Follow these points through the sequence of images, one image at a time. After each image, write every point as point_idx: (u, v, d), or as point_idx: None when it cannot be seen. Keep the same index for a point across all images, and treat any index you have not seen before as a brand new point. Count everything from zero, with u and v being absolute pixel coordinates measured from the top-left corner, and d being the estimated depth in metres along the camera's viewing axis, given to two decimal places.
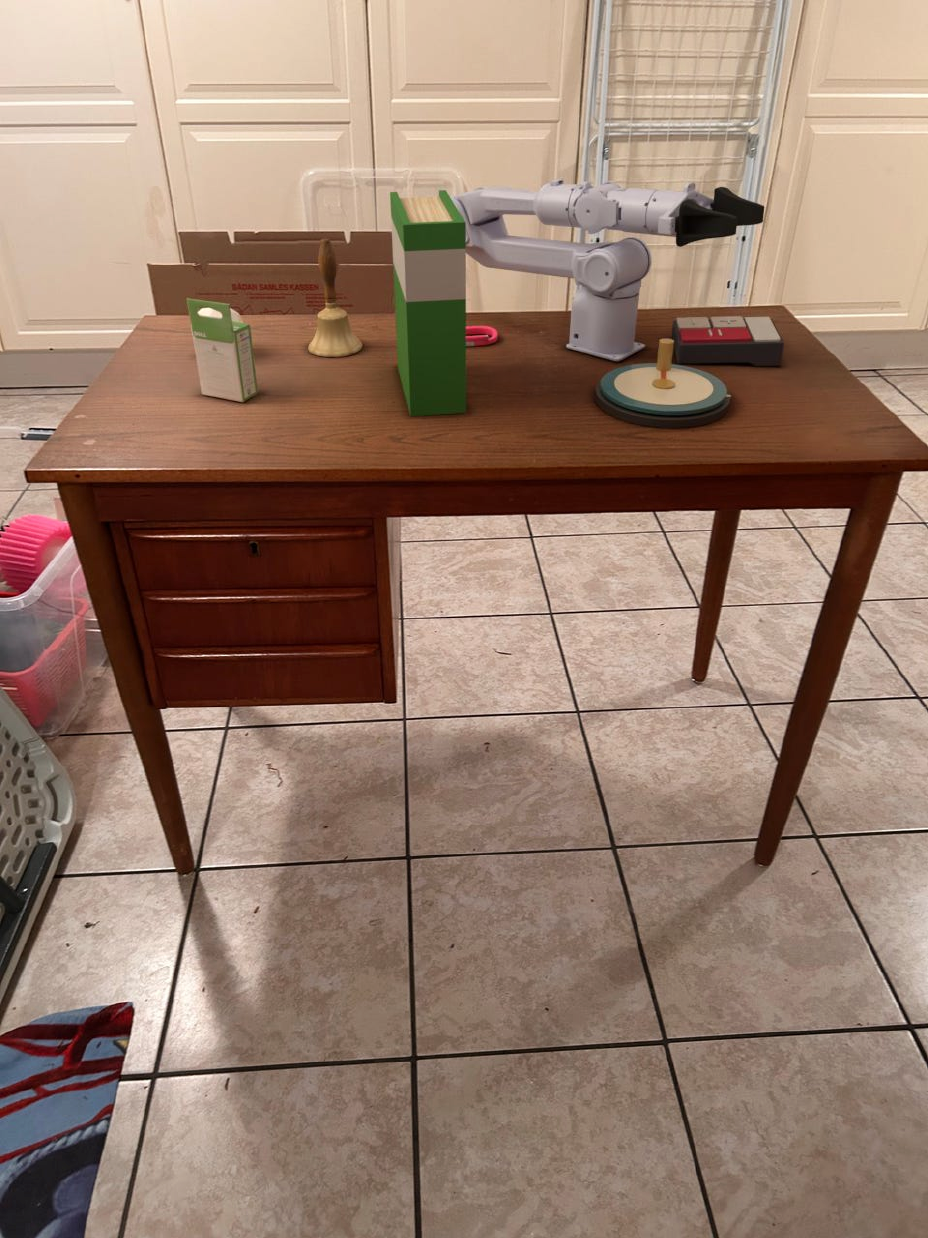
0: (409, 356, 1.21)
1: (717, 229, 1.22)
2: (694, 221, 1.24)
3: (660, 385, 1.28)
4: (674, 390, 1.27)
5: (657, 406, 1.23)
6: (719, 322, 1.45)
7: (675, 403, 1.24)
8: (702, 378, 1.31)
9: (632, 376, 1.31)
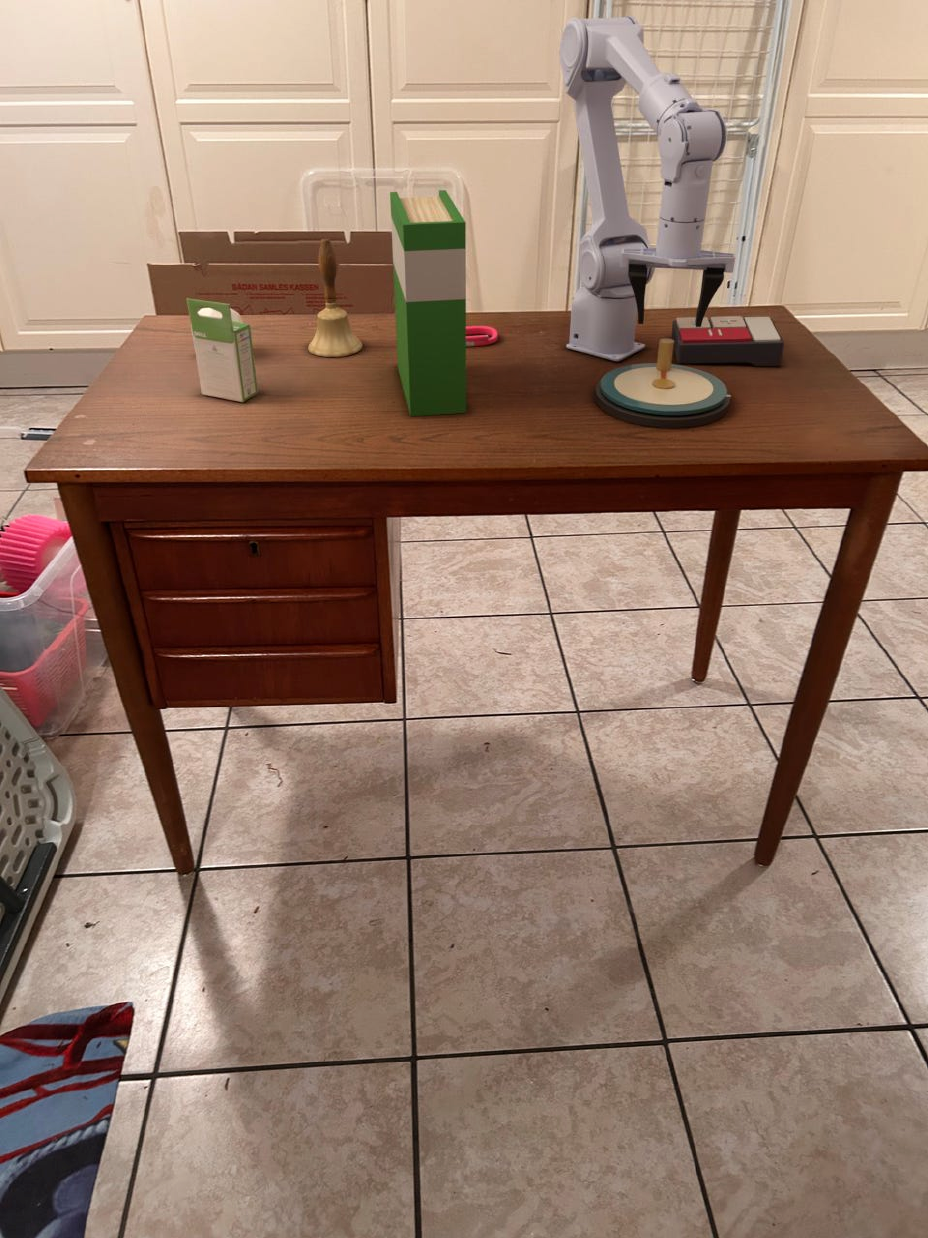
0: (409, 356, 1.21)
1: None
2: None
3: (660, 385, 1.28)
4: (674, 390, 1.27)
5: (657, 406, 1.23)
6: (719, 322, 1.45)
7: (675, 403, 1.24)
8: (702, 378, 1.31)
9: (632, 376, 1.31)
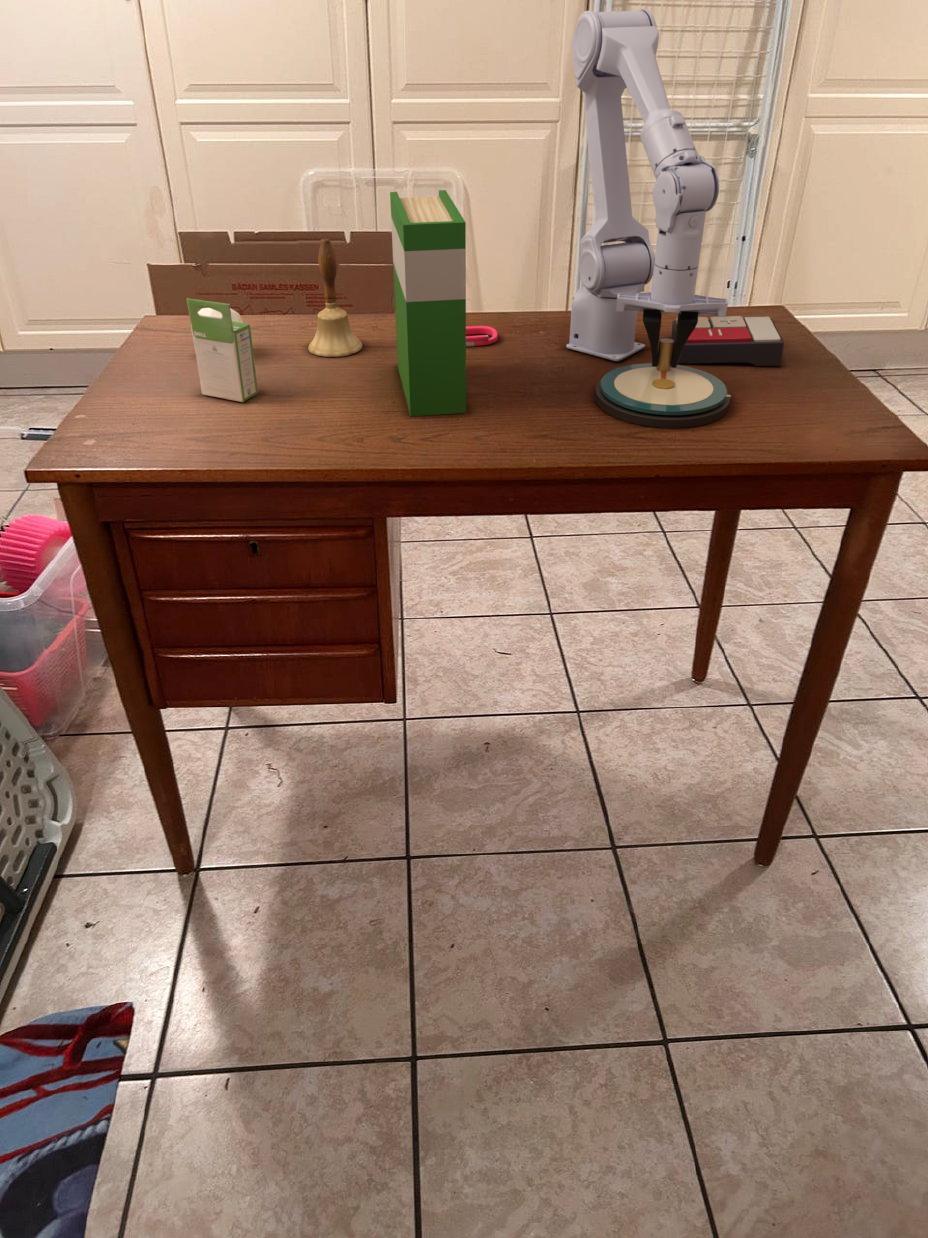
0: (409, 356, 1.21)
1: None
2: None
3: (660, 385, 1.28)
4: (674, 390, 1.27)
5: (657, 406, 1.23)
6: (719, 322, 1.45)
7: (675, 403, 1.24)
8: (702, 378, 1.31)
9: (632, 376, 1.31)
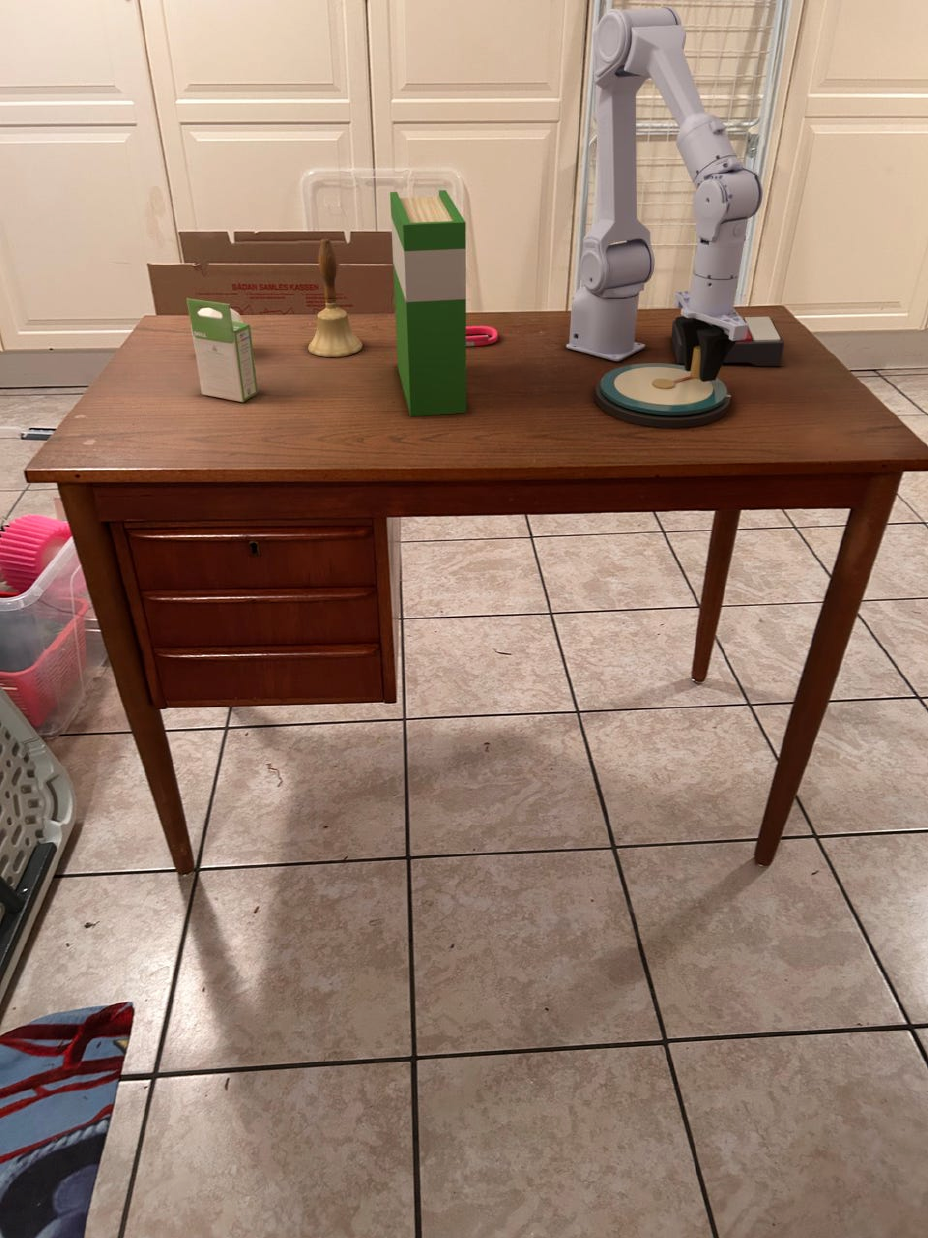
0: (409, 356, 1.21)
1: None
2: None
3: (656, 383, 1.29)
4: (660, 391, 1.27)
5: (617, 394, 1.27)
6: None
7: (635, 397, 1.25)
8: (708, 393, 1.27)
9: (657, 371, 1.33)
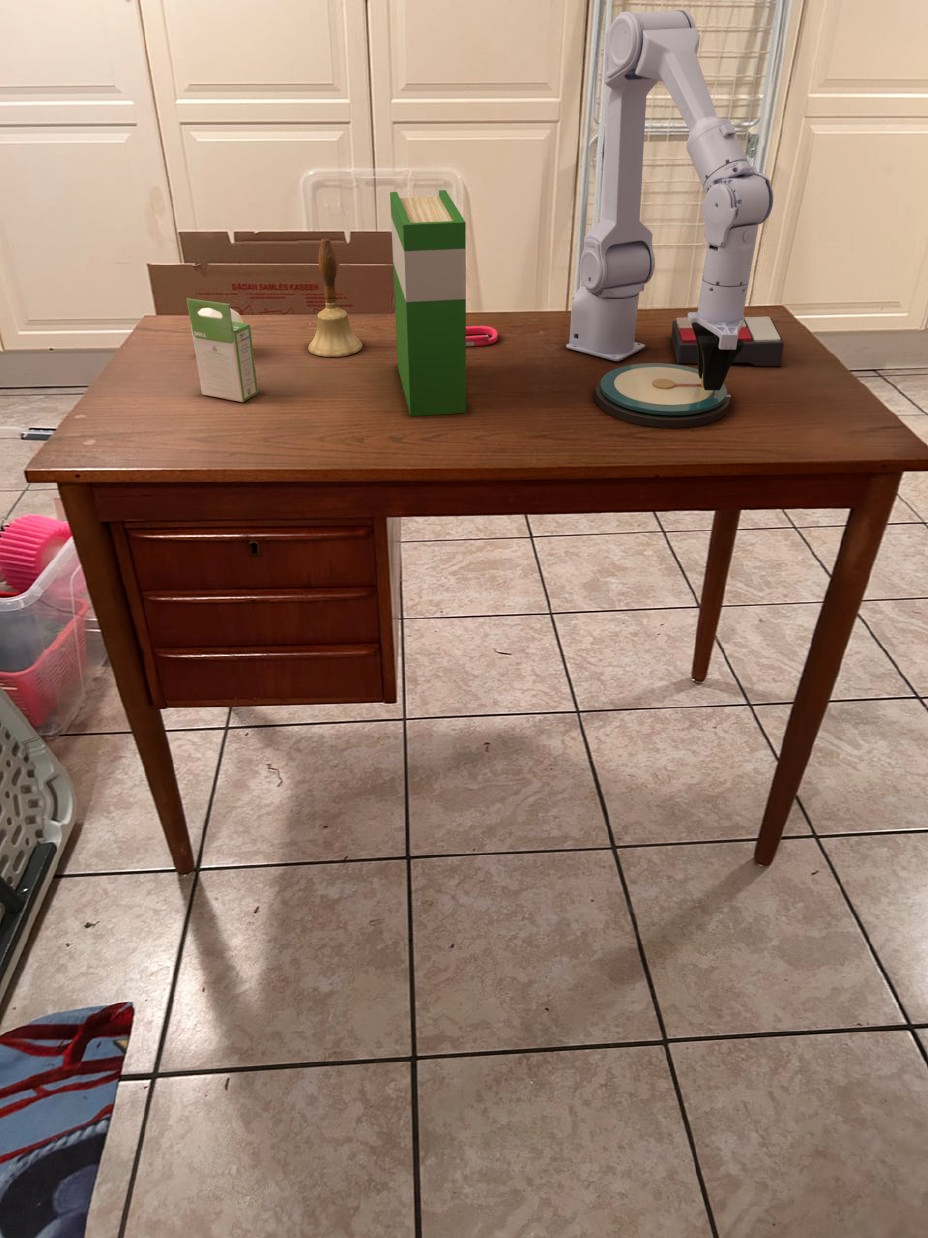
0: (409, 356, 1.21)
1: None
2: None
3: (656, 381, 1.29)
4: (652, 388, 1.28)
5: (609, 382, 1.30)
6: None
7: (619, 388, 1.28)
8: (693, 400, 1.25)
9: (677, 373, 1.32)
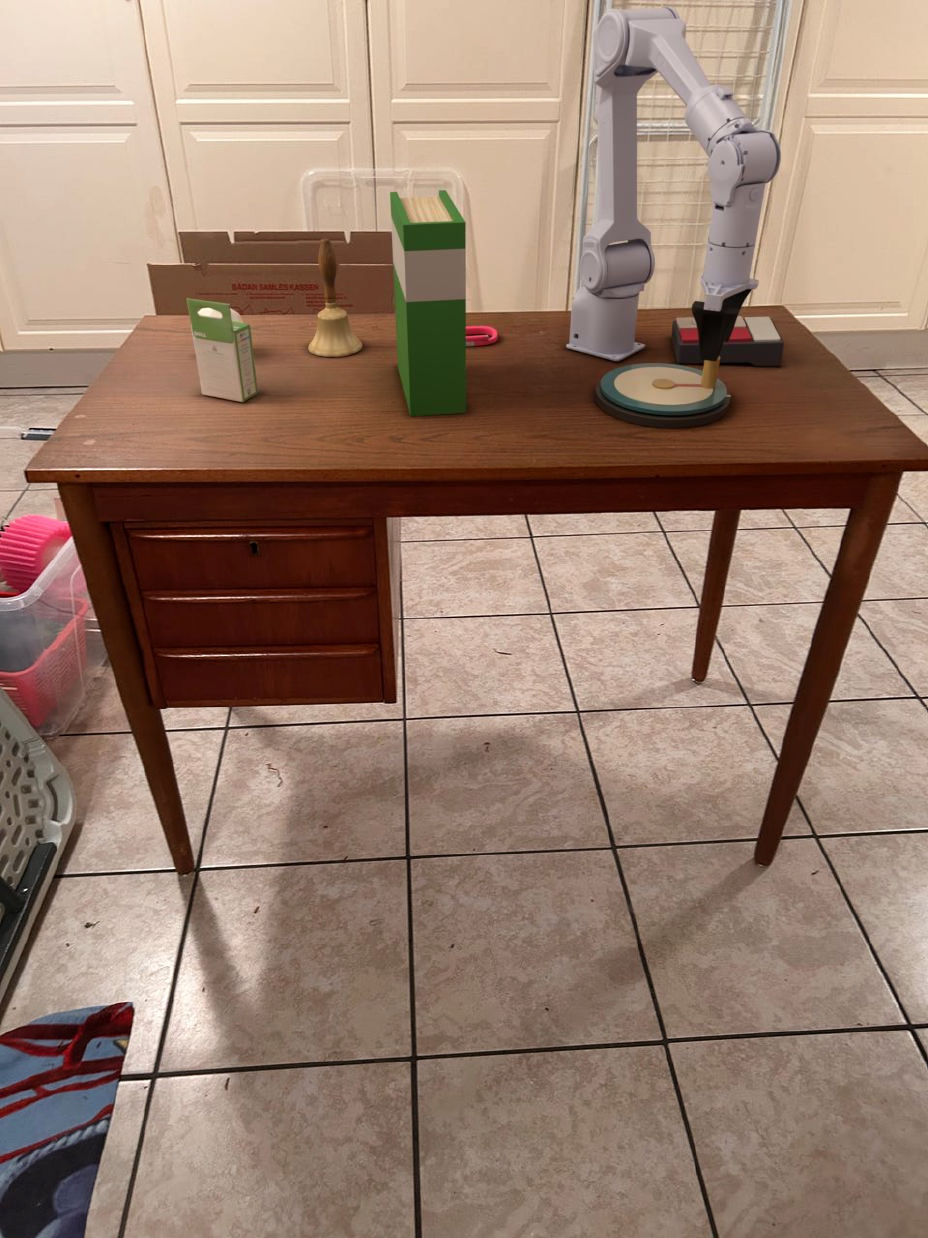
0: (409, 356, 1.21)
1: (706, 343, 1.21)
2: (716, 317, 1.19)
3: (656, 381, 1.29)
4: (652, 388, 1.28)
5: (609, 382, 1.30)
6: None
7: (619, 388, 1.28)
8: (693, 400, 1.25)
9: (677, 373, 1.32)
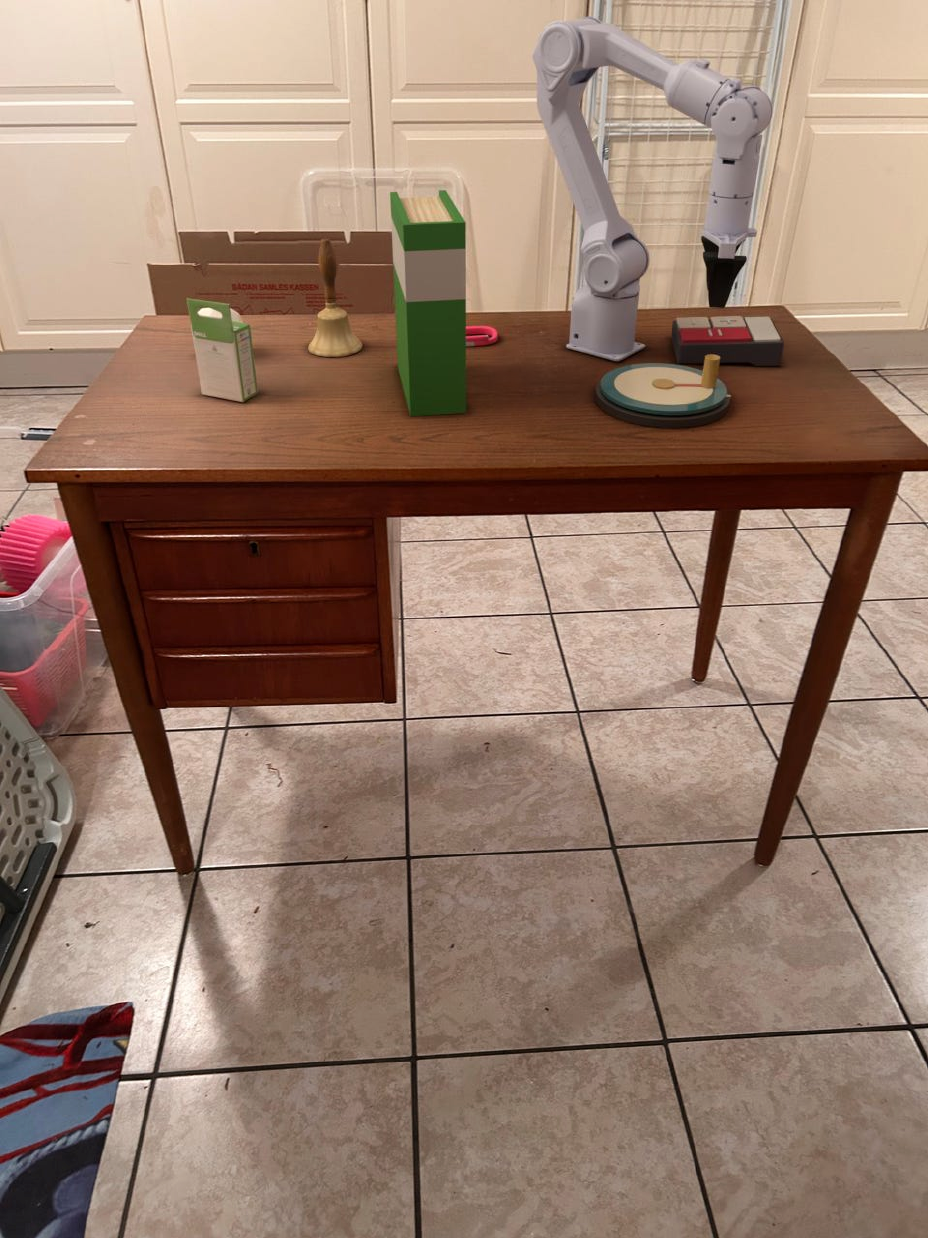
0: (409, 356, 1.21)
1: (715, 291, 1.29)
2: (724, 266, 1.26)
3: (656, 381, 1.29)
4: (652, 388, 1.28)
5: (609, 382, 1.30)
6: (719, 322, 1.45)
7: (619, 388, 1.28)
8: (693, 400, 1.25)
9: (677, 373, 1.32)
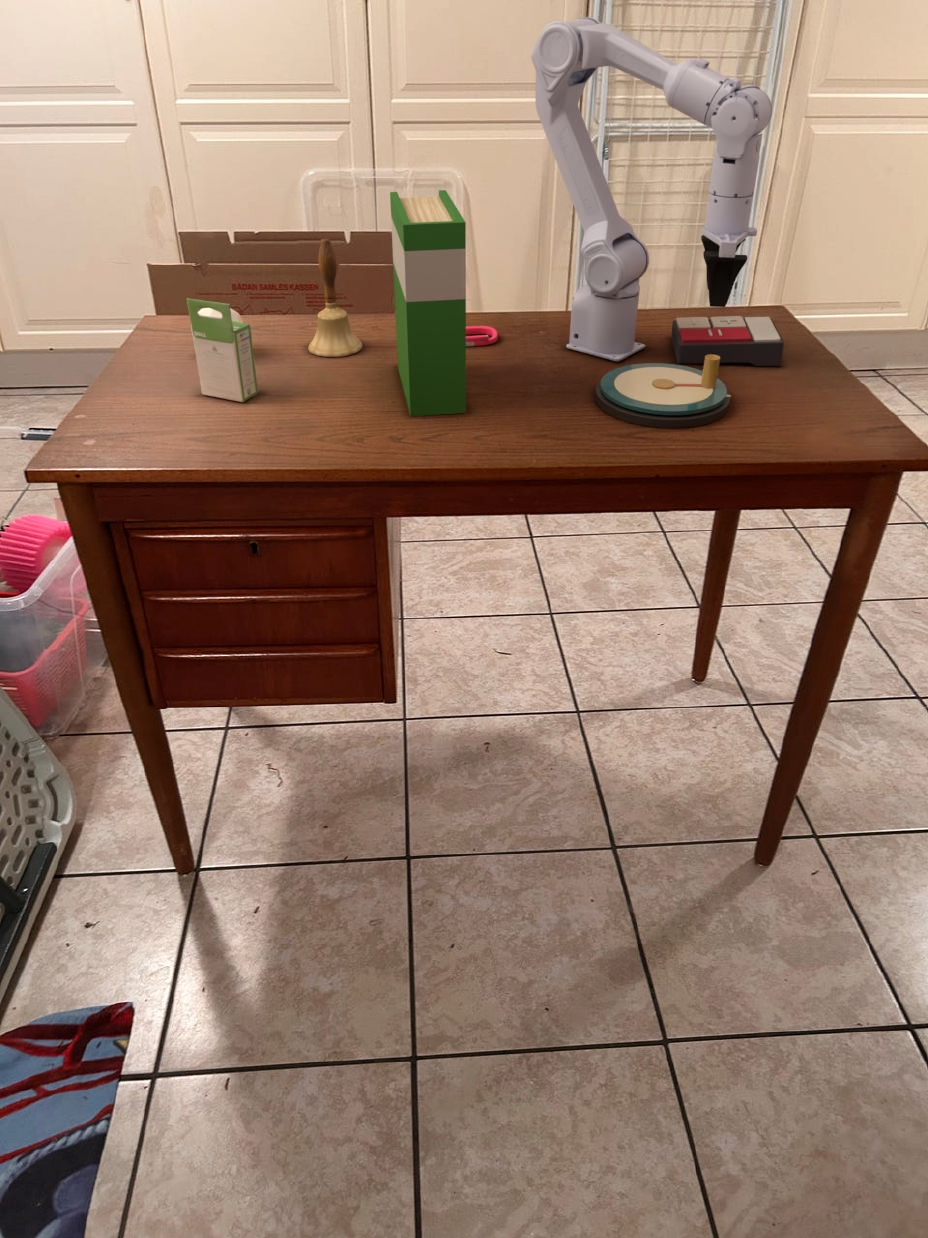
0: (409, 356, 1.21)
1: (716, 290, 1.29)
2: (725, 265, 1.27)
3: (656, 381, 1.29)
4: (652, 388, 1.28)
5: (609, 382, 1.30)
6: (719, 322, 1.45)
7: (619, 388, 1.28)
8: (693, 400, 1.25)
9: (677, 373, 1.32)
